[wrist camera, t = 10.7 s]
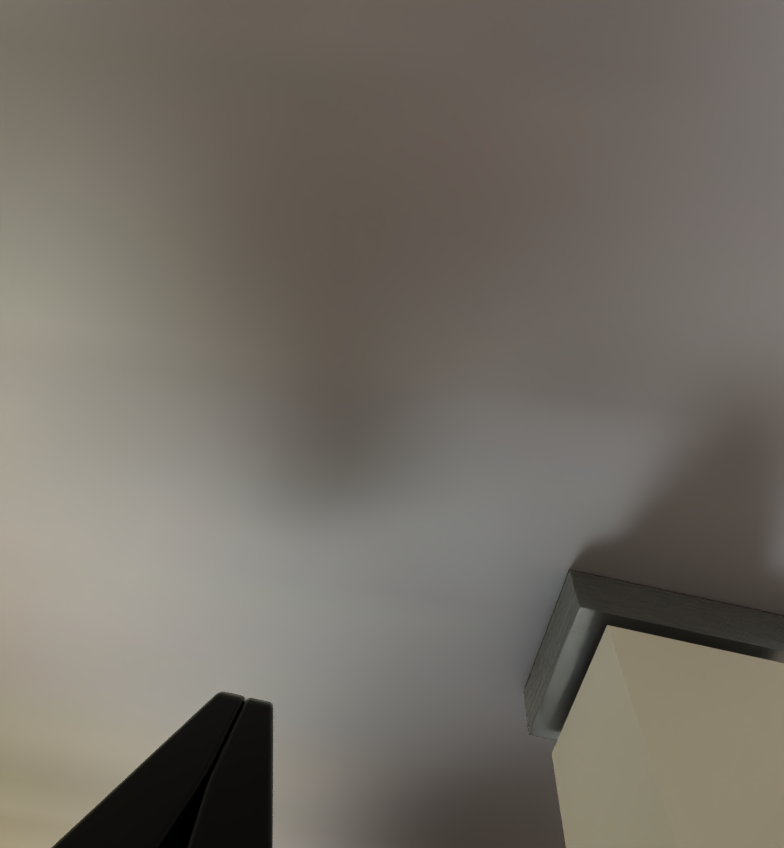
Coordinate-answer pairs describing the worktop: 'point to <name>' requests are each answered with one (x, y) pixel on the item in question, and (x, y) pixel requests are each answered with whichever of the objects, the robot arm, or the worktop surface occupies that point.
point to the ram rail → (639, 611)
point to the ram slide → (673, 748)
